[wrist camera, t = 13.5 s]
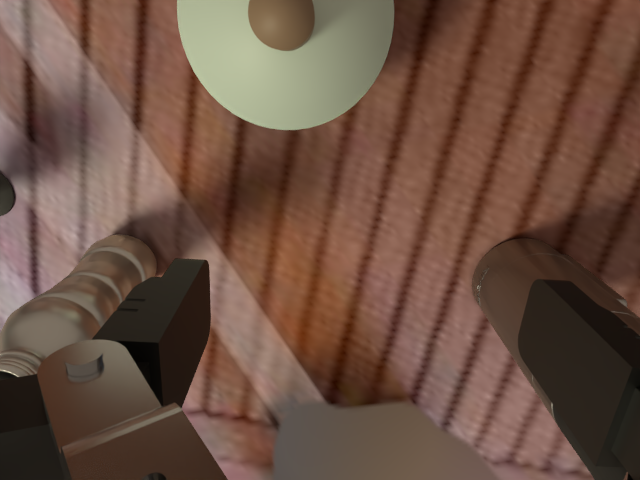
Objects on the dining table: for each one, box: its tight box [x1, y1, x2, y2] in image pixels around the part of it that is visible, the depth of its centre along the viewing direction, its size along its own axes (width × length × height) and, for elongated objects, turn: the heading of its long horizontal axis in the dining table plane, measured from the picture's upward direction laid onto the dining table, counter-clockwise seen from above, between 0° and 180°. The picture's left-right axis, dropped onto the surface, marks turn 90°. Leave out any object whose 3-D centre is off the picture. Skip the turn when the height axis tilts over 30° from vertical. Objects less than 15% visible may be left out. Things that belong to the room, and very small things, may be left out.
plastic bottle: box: [0, 235, 157, 380], centre depth 37 cm, size 6×7×20 cm
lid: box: [177, 0, 394, 130], centre depth 30 cm, size 15×15×6 cm
